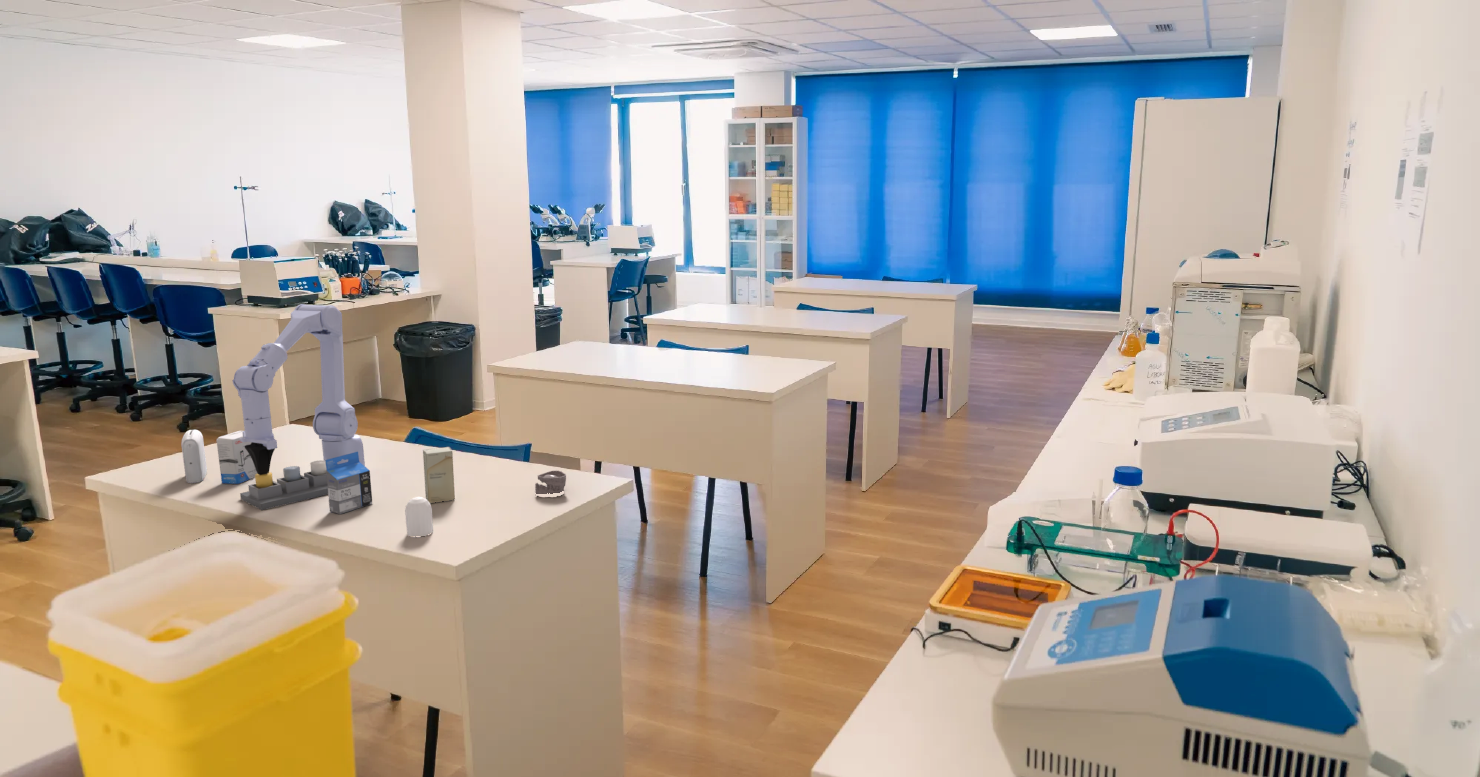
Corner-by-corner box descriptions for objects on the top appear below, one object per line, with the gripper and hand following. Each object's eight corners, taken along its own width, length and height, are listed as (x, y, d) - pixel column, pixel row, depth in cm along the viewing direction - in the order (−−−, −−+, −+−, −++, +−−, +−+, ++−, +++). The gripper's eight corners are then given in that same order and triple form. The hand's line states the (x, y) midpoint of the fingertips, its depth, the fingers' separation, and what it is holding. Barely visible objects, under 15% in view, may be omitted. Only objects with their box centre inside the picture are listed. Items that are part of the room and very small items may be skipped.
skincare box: (428, 504, 222) (424, 454, 220) (425, 498, 226) (421, 449, 223) (456, 500, 225) (452, 450, 222) (452, 494, 229) (449, 446, 226)
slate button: (296, 476, 231) (295, 465, 231) (303, 479, 229) (302, 468, 228) (281, 479, 229) (280, 468, 228) (288, 482, 226) (287, 471, 226)
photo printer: (204, 482, 240) (198, 434, 237) (184, 484, 238) (178, 436, 236) (208, 471, 249) (203, 425, 247) (190, 473, 247) (184, 427, 245)
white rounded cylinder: (437, 528, 206) (434, 493, 204) (427, 537, 201) (425, 501, 199) (412, 528, 206) (409, 493, 204) (403, 537, 201) (400, 501, 199)
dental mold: (547, 501, 224) (546, 481, 223) (530, 495, 228) (529, 475, 227) (574, 493, 230) (573, 473, 229) (557, 487, 234) (556, 468, 233)
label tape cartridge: (339, 515, 215) (334, 462, 212) (329, 512, 217) (323, 460, 214) (373, 504, 222) (368, 453, 220) (362, 501, 224) (358, 450, 222)
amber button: (269, 482, 226) (268, 471, 226) (275, 485, 224) (274, 474, 224) (253, 485, 224) (252, 474, 223) (259, 488, 222) (258, 477, 221)
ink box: (237, 484, 237) (232, 439, 235) (220, 483, 238) (215, 438, 236) (261, 474, 246) (256, 430, 243) (244, 473, 247) (239, 429, 244)
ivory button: (323, 470, 236) (322, 459, 235) (330, 473, 234) (328, 462, 233) (308, 473, 233) (307, 462, 233) (315, 476, 231) (314, 465, 230)
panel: (323, 480, 241) (322, 465, 240) (346, 490, 233) (344, 474, 232) (240, 499, 226) (238, 483, 225) (261, 510, 218) (259, 493, 217)
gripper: (226, 415, 222) (233, 471, 225) (251, 425, 213) (258, 483, 216) (258, 410, 228) (263, 465, 230) (283, 419, 218) (289, 476, 221)
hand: (263, 473), depth 223 cm, fingers closed
